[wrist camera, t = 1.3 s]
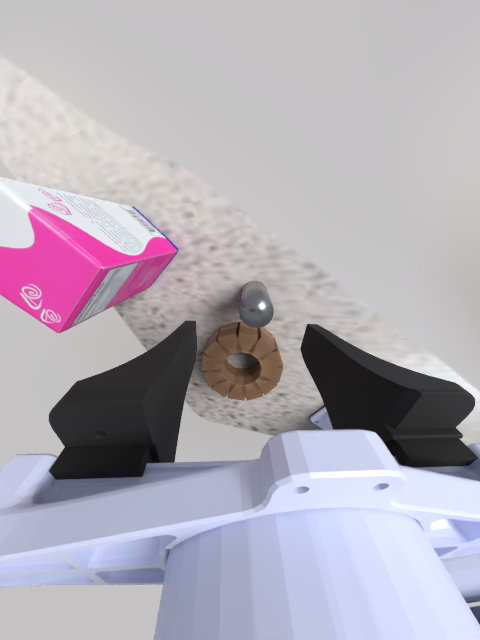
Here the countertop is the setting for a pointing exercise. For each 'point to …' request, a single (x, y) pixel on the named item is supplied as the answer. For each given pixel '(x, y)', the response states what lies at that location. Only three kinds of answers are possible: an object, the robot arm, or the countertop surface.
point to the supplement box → (73, 253)
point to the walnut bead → (242, 380)
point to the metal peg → (255, 305)
